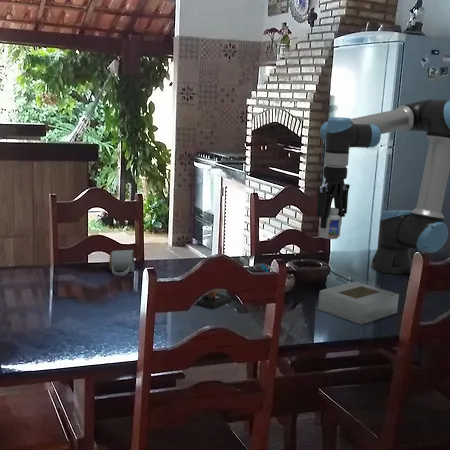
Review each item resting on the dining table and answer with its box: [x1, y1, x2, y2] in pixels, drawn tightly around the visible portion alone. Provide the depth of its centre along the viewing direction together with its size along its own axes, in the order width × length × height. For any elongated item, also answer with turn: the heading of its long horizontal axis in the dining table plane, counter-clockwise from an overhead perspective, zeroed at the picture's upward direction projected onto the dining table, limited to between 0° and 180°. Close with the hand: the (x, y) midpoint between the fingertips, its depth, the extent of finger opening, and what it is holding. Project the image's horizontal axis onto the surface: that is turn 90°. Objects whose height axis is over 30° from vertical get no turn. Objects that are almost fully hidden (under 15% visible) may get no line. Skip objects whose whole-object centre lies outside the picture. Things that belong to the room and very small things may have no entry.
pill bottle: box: [328, 207, 340, 240], centre depth 209 cm, size 5×5×10 cm
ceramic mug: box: [108, 249, 135, 277], centre depth 223 cm, size 11×8×8 cm
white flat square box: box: [317, 281, 400, 326], centre depth 194 cm, size 18×16×6 cm
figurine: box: [194, 290, 233, 311], centre depth 195 cm, size 10×10×12 cm
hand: (330, 236), depth 210 cm, fingers closed on pill bottle, 5 cm apart
